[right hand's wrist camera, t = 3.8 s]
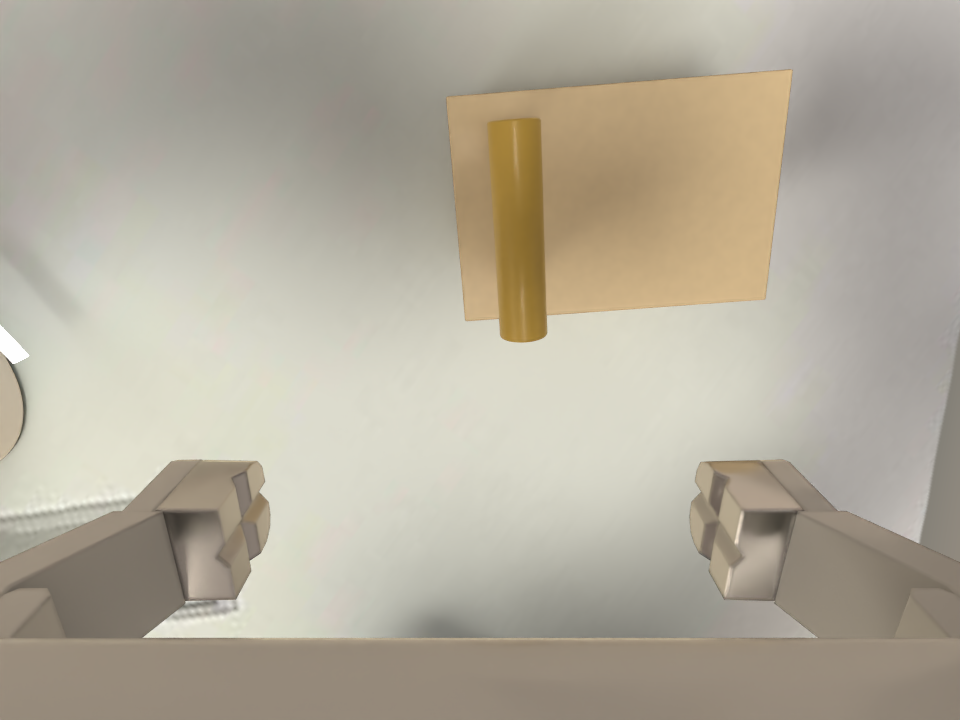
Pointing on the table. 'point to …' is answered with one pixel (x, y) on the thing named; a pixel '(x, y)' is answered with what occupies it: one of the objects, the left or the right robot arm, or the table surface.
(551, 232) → the lid
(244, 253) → the table surface
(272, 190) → the table surface
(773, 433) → the table surface
